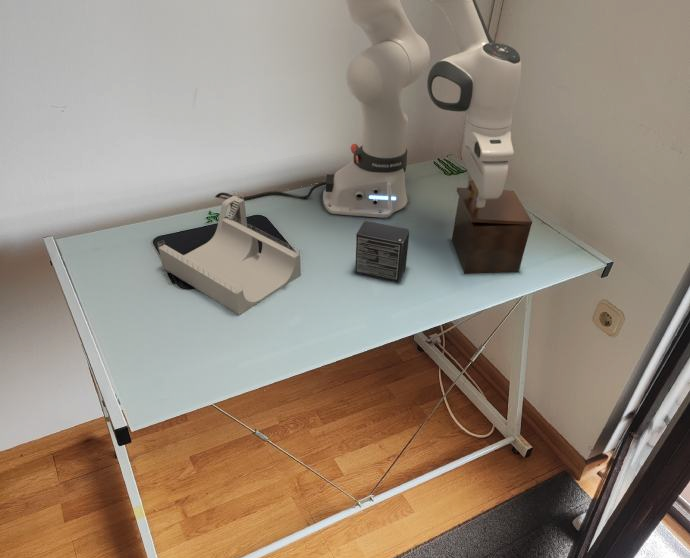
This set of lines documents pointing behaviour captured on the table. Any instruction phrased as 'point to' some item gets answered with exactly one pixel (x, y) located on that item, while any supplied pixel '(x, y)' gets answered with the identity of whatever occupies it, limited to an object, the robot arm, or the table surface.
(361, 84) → the robot arm
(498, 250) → the storage box
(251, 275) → the skate ramp
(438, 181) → the table surface
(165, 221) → the table surface
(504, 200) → the box lid
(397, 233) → the small box
